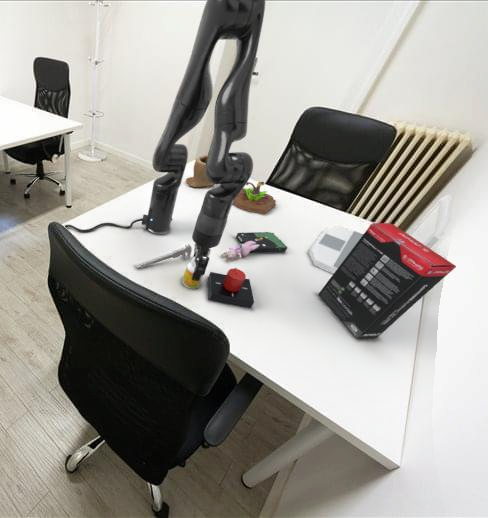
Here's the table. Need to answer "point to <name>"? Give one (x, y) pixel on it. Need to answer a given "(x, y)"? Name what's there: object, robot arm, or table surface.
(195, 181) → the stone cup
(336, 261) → the laptop
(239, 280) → the knob
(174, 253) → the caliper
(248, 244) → the pink creature figurine
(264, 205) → the plant
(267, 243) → the disk drive
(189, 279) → the supplement bottle
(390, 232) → the graphics card box
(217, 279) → the control panel
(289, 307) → the table surface
